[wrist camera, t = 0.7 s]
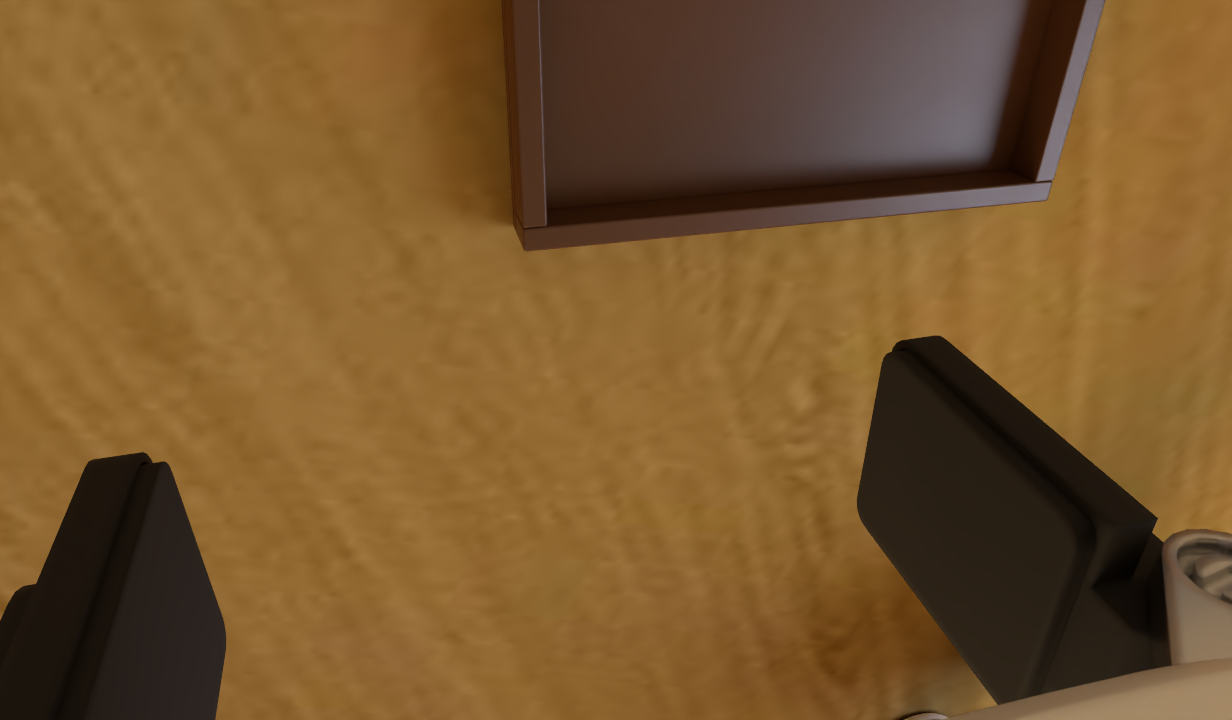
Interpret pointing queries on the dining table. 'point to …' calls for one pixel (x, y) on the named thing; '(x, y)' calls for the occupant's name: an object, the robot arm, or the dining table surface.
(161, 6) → the dining table surface
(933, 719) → the pill bottle
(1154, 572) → the robot arm
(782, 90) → the tray
